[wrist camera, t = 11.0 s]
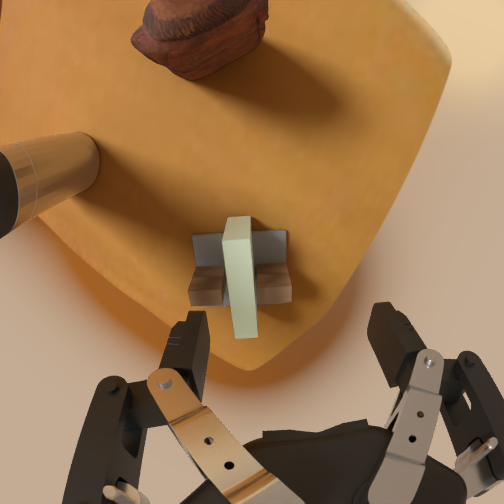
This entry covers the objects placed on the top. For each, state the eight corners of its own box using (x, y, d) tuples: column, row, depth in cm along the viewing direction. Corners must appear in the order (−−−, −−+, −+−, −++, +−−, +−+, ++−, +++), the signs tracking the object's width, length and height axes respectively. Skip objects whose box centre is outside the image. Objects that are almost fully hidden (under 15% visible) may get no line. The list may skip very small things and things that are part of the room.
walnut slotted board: (198, 280, 41) (190, 306, 35) (196, 266, 40) (187, 290, 34) (286, 276, 41) (291, 302, 35) (286, 262, 40) (291, 286, 34)
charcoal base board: (203, 304, 44) (203, 306, 43) (192, 234, 39) (191, 236, 38) (285, 300, 43) (285, 303, 43) (285, 229, 38) (286, 230, 38)
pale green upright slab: (237, 303, 43) (235, 338, 36) (227, 217, 37) (222, 240, 30) (256, 302, 43) (257, 337, 36) (250, 215, 37) (250, 239, 30)
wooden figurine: (242, 14, 25) (235, -62, 9) (267, 48, 28) (282, -16, 12) (163, 58, 28) (96, 14, 12) (186, 93, 30) (129, 66, 14)
